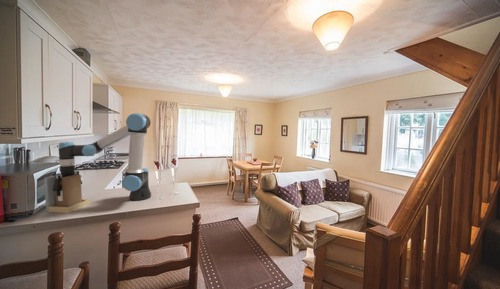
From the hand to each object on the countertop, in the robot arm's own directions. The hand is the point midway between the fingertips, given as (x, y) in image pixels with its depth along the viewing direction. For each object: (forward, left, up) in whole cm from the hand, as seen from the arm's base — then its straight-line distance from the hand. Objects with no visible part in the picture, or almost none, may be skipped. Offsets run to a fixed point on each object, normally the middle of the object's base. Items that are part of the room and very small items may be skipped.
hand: (69, 197), depth 135 cm
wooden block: (0, 0, -5) cm, 5 cm away
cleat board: (+1, 0, -7) cm, 7 cm away
